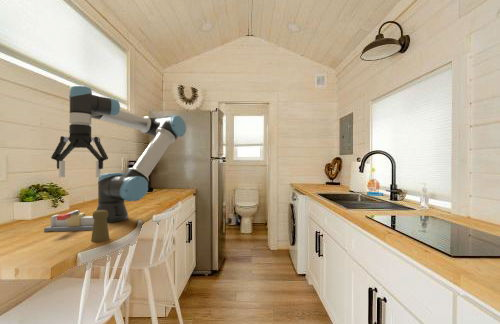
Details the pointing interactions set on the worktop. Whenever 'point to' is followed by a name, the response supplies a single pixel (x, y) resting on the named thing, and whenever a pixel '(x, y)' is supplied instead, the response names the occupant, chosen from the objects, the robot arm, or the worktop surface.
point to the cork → (100, 226)
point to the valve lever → (67, 215)
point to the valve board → (69, 228)
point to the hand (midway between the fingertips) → (80, 177)
